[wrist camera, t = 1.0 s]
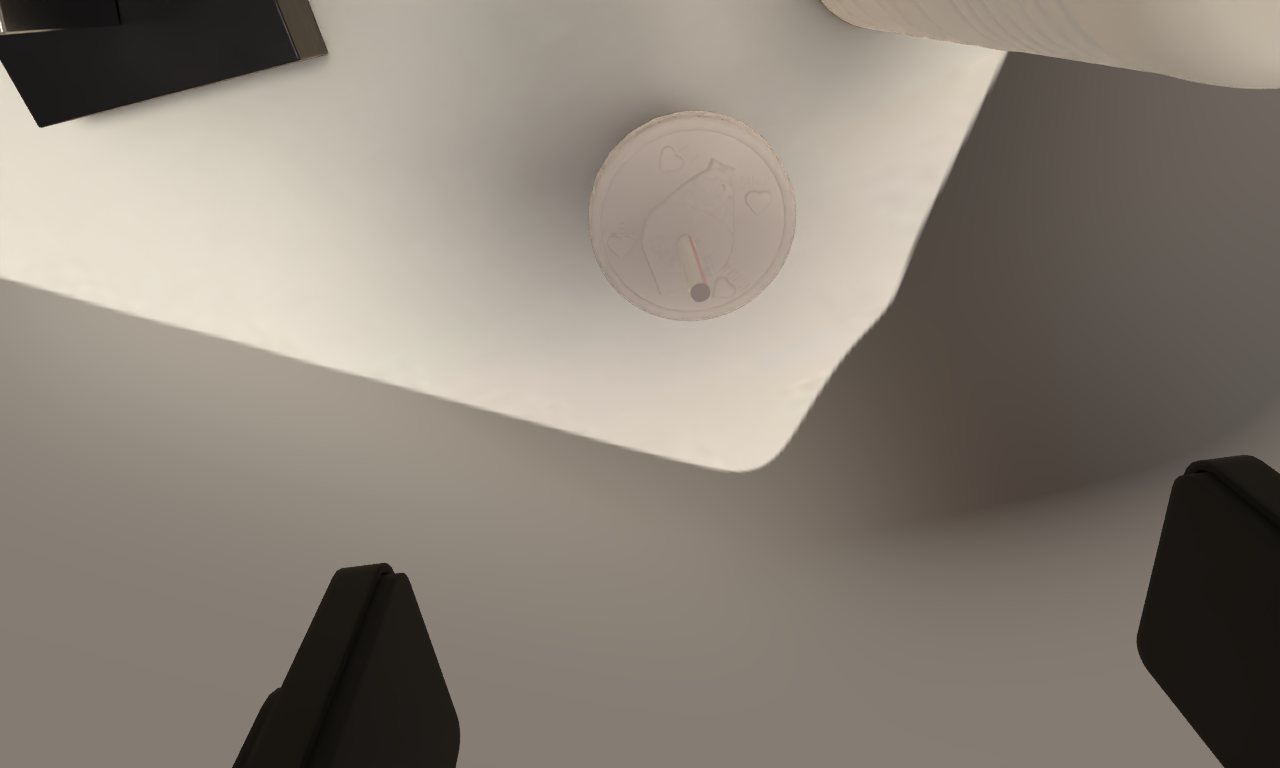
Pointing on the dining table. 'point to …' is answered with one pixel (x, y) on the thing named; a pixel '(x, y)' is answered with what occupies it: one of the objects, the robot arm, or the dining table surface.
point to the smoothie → (691, 216)
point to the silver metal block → (55, 15)
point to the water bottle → (1101, 32)
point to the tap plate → (155, 53)
